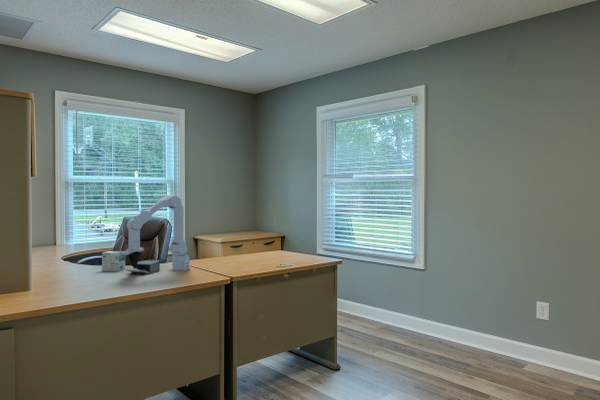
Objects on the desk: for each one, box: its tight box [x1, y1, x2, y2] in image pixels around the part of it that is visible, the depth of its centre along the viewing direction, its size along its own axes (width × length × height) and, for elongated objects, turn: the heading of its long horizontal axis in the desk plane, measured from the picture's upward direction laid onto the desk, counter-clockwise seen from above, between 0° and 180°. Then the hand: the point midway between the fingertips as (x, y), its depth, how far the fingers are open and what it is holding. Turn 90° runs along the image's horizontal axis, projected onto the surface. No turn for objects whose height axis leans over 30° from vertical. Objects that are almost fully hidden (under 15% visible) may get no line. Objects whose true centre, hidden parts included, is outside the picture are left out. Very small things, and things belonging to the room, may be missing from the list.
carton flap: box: [125, 267, 151, 274], centre depth 229 cm, size 11×1×9 cm
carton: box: [132, 260, 161, 274], centre depth 238 cm, size 11×9×6 cm
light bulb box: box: [101, 250, 126, 272], centre depth 241 cm, size 11×7×11 cm, turn 84°
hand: (134, 266), depth 227 cm, fingers closed
